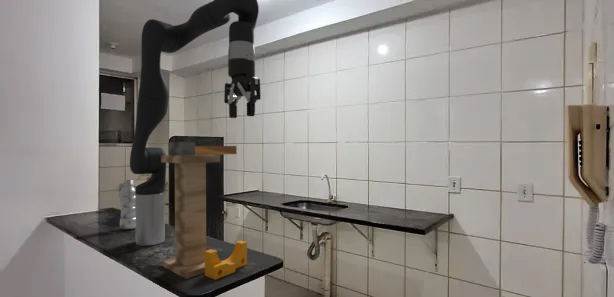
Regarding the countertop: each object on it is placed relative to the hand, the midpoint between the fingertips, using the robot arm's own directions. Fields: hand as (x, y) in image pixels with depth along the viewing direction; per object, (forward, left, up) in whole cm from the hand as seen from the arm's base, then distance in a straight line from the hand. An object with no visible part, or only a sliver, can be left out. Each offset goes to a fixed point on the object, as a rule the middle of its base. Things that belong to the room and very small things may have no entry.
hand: (241, 117), depth 93 cm
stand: (-8, -11, -42) cm, 44 cm away
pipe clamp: (+2, -6, -42) cm, 43 cm away
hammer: (-8, -6, -11) cm, 15 cm away
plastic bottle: (-67, -7, -42) cm, 79 cm away
